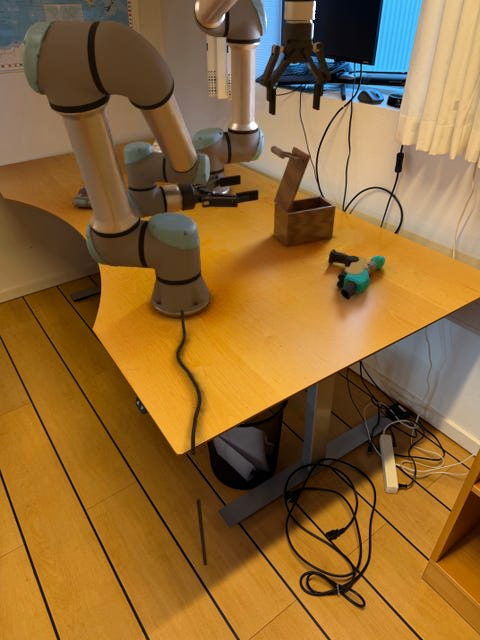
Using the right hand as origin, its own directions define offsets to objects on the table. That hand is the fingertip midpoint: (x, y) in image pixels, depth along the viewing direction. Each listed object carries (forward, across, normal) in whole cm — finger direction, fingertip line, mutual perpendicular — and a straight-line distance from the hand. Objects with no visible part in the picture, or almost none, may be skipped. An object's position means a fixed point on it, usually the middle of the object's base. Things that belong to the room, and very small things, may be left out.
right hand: (294, 111), depth 132 cm
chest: (+39, -6, 0) cm, 39 cm away
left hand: (+19, +14, 0) cm, 24 cm away
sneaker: (+39, +21, -91) cm, 102 cm away
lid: (+20, -1, 0) cm, 20 cm away
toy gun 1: (+39, +52, -55) cm, 86 cm away
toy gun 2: (+39, -4, +29) cm, 49 cm away
